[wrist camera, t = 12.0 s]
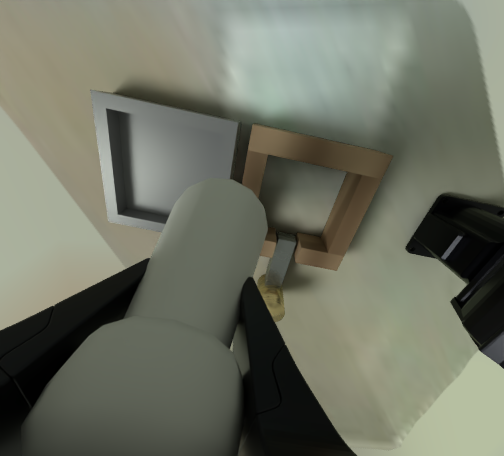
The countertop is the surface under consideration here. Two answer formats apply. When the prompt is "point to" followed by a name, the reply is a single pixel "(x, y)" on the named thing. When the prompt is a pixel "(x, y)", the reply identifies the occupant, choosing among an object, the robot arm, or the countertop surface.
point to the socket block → (347, 202)
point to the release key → (277, 275)
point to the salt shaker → (164, 345)
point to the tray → (157, 155)
